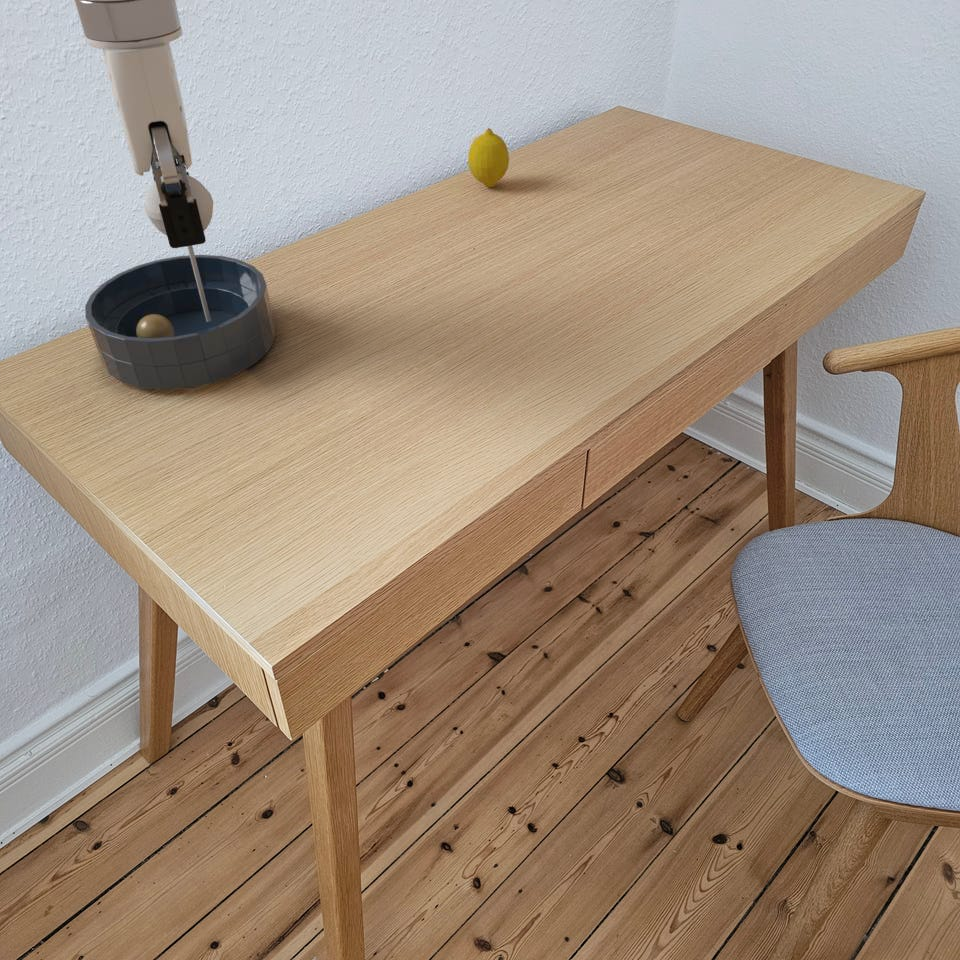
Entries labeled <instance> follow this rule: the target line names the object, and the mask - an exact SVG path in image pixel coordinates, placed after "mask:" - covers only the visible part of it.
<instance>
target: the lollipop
mask: <svg viewBox="0 0 960 960" xmlns="http://www.w3.org/2000/svg"><path fill="white" fill-rule="evenodd" d="M187 177H188V181H189V185H190V189H191V193H192V197H193V199H196V202H197V206H198V210H199V214H200V218H201V222H202V226H203V231H204V232H205V230H206V229H208V227H209V225H210V223H211V221H212V219H213V214H214V213H213V212H214V200H213V197H212V194H211V193H210V191H209V190H208V189H207V188H206V187H205V186H204V184H203V183H202V182H201V181H199V180H198V179H197V178H196V177H193V176H191V175H190V174H189V175H187ZM178 178H179V180H182V178H181V174H178ZM161 180H162V182H164V179H163V176H161ZM185 195H186V194H185ZM186 200H187V199H186ZM144 201H145V202H144V211H145V215H146V216H147V217H148V219H149V220H150V222H151V223H152V224H153V226H154V227H155V228H156V229H157V230H158V231H159V232H160V233H162V234H163V235H165V236H167V234H166V230H165V226H164V223H163V219H162V215H161V212H160V208H159V204H161V202H160V198H159V194H158V190H157V186H156V182H155V181H154V180H153V182H152V183H151V185H150V186H149V188H148V190H147V193H146V197H145V200H144ZM186 248H187V250H188V251H187V252H188V255H190V259H191V263H192V267H193V270H194V274H195V278H196V282H197V286H198V290H199V294H200V298H201V302H202V305H203V309H204V313H205V317H206V321H207V322H210V321H211V318H210V314H209V310H208V306H207V302H206V298H205V294H204V290H203V286H202V282H201V278H200V274H199V270H198V266H197V263H196V259H195V255H196V254H195V250H194V248H193V245H192V246H186Z"/></svg>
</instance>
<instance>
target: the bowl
mask: <svg viewBox="0 0 960 960" xmlns="http://www.w3.org/2000/svg"><path fill="white" fill-rule="evenodd" d="M194 255H195V259H196V263H197V266H198V270H199V274H200V278H201V282H202V286H203V290H204V294H205V298H206V302H207V306H208V310H209V314H210V318H211V321H210V322H207V321H206V317H205V313H204V309H203V305H202V302H201V298H200V294H199V290H198V286H197V282H196V278H195V274H194V270H193V267H192V263H191V259H190V255H189V254H188V255H179V256H178V255H177V256H173V257H172V256H171V257H166V258H160V259H156V260H152V261H148V262H145V263H142V264H139V265H135V266H133V267H131V268H129V269H127V270H123V271H121V272H119V273H117V274H116V275H114V276H112V277H111V278H109V279H108V280H106V281H104V282H103V283H101V284H100V285H99V286H98V287H97V288H96V289H95V290H94V291H93V292H92V293H91V294H90V295H89V298H88V300H87V302H86V304H85V305H84V312H85V313H84V314H85V316H84V317H85V320H86V323H87V325H88V327H89V331H90V333H91V336H92V339H93V341H94V344H95V347H96V349H97V352H98V355H99V358H100V360H101V364H102V365H103V367H104V368H105V370H106V371H107V373H108V374H109V375H110V376H111V377H113V378H114V379H116V380H118V381H119V382H121V383H123V384H125V385H128V386H132V387H135V388H139V389H146V390H158V391H171V390H186V389H192V388H198V387H202V386H206V385H211V384H216V383H218V382H220V381H223V380H226V379H229V378H232V377H234V376H236V375H238V374H240V373H241V372H243V371H245V370H247V369H249V368H251V367H252V366H253V365H255V364H256V363H257V362H258V361H259V360H261V358H263V357H265V355H266V354H267V353H268V351H270V349H271V347H272V346H273V344H274V342H275V336H276V330H277V329H276V325H275V321H274V316H273V311H272V305H271V300H270V295H269V291H268V286H267V282H266V279H265V276H264V273H262V272H261V271H260V270H259V269H257V267H256V266H254V265H252V264H250V263H247V262H245V261H243V260H241V259H237V258H234V257H229V256H225V255H213V254H212V255H211V254H194ZM150 314H158V315H162V316H164V317H166V318H167V319H168V320H169V321H170V322H171V323H172V325H173V328H174V337H163V338H139V337H137V334H136V328H137V325H138V323H139V321H140V320H141V319H142V318H143V317H145V316H147V315H150Z"/></svg>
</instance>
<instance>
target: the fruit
mask: <svg viewBox="0 0 960 960" xmlns="http://www.w3.org/2000/svg"><path fill="white" fill-rule="evenodd" d="M467 155H468V156H467V163H468V168H469V172H470V173H471V175H472V176H473V178H474V179H475V180H476V181H478V182H479V183H481V184H483V186H485V187H486V188H493V187H495V186H496V184H497V183H498V182H499V181H501V180H502V179H503V177H504V176H505V175H506V173H507V171H508V169H509V165H510V156H509V150H508V147H507V144H506V142H505V140H504V139H503V138H502V137H501V136H500V135H498V134H495V133H494V131H493V130H492V129H491V128H490V127H488V128H487V129H486V130H485V131H484V133H482V134H479V135H478V136H476V137H475V138H474V139H473V140H472V142H471V144H470V147H469V150H468V154H467Z"/></svg>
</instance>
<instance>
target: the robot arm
mask: <svg viewBox="0 0 960 960" xmlns="http://www.w3.org/2000/svg"><path fill="white" fill-rule="evenodd" d="M74 3H75V6H76V10H77V13H78V17H79V20H80V23H81V27H82V30H83V34H84V38H85V42H86V43H87V45H88V46H91V47H93V48H96V49H102V52H103V56H104V63H105V66H106V72H107V75H108V79H109V84H110V88H111V90H112V93H113V98H114V102H115V105H116V110H117V112H118V116H119V119H120V123H121V127H122V130H123V133H124V137H125V141H126V144H127V147H128V151H129V155H130V159H131V162H132V166H133V170H134V173H136V174H137V175H138V176H144V173H150V171H151V172H152V175H153V176H152V177H153V182H154V181H155V182H156V186H157V190H158V194H159V198H160V202H161V204H159V208H160V212H161V215H162V219H163V223H164V226H165V230H166V234H167V235H166V237H167V241H168V244H169V247H170V248H172V249H179V248H185V247H186V248H187V246H192V247H193V246H198V245H203V244H205V243H206V240H207V239H206V236H205V230H204V231H203V226H202V222H201V218H200V214H199V210H198V206H197V202H196V199H193V197H192V193H191V189H190V185H189V181H188V177H187V175H189V176H190V173H189V171H187V170H188V169H189V168H190V167H191V166H192V165H193V161H192V160H193V159H192V152H191V144H190V138H189V137H190V136H189V130H188V126H187V125H188V124H187V119H186V113H185V107H184V103H183V98H182V93H181V89H180V84H179V79H178V75H177V69H176V65H175V62H174V57H173V53H172V48H171V42H174V41H175V40H178V39H180V37H182V36H183V29H182V24H181V20H180V16H179V11H178V6H177V2H176V0H74ZM178 174H181V178H182V180H179V178H178ZM161 176H163V179H164V182H162V180H161ZM185 194H186V195H185ZM186 199H187V200H186Z"/></svg>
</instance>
